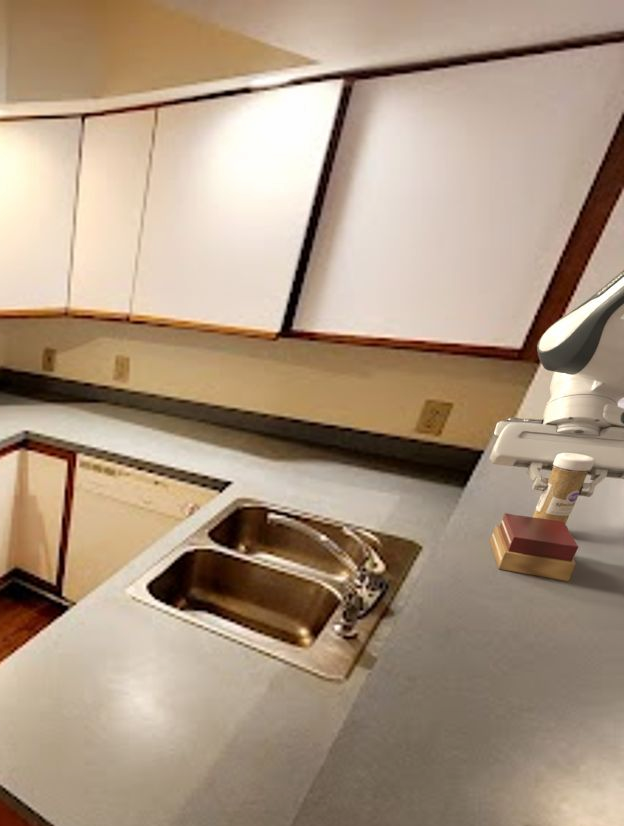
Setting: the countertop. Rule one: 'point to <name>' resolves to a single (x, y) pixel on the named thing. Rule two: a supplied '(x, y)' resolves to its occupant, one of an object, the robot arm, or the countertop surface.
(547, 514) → the sprinkles bottle
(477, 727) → the countertop surface
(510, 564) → the red and wooden block
